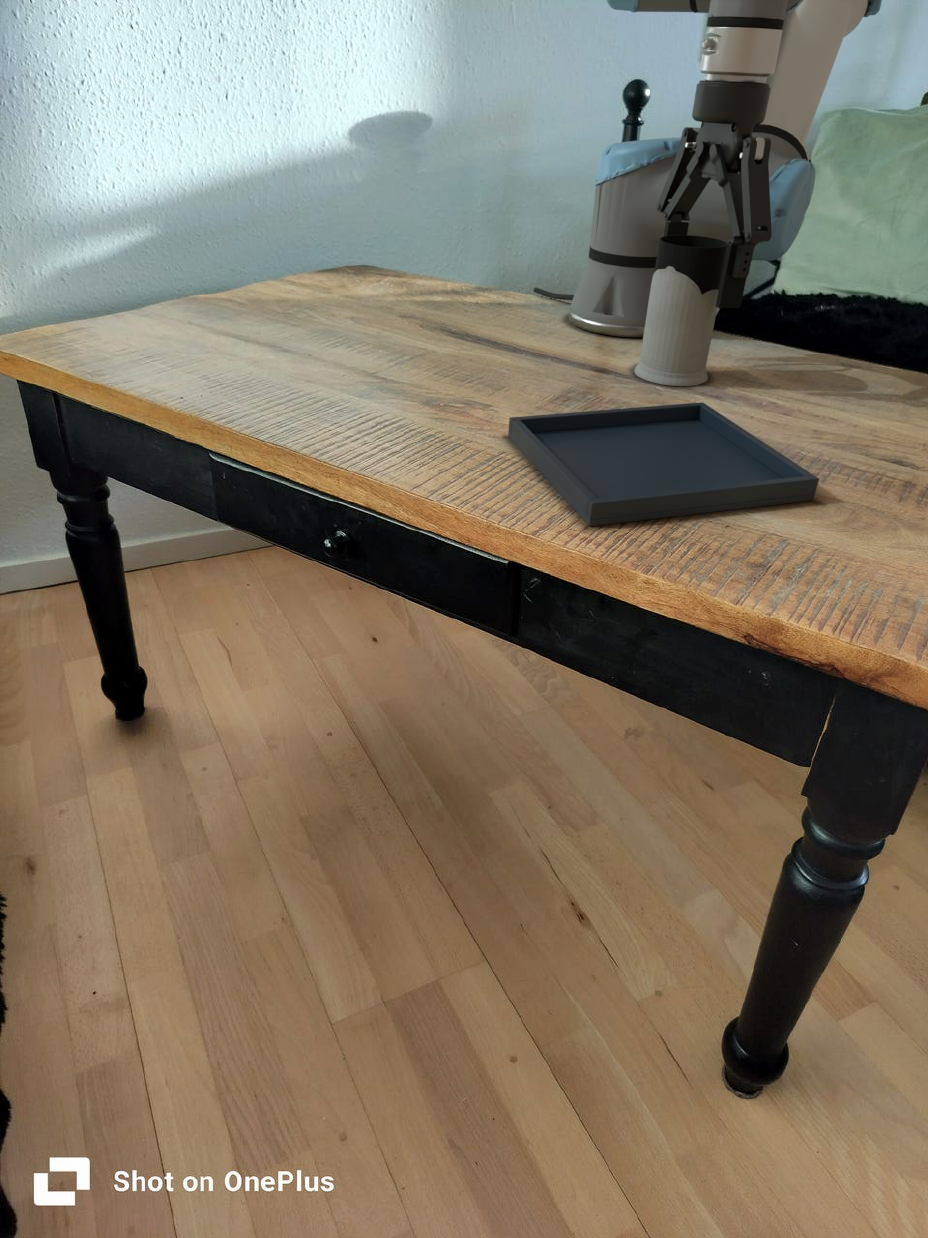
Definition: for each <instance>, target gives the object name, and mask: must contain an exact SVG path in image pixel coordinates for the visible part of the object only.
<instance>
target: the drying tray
mask: <svg viewBox="0 0 928 1238" xmlns="http://www.w3.org/2000/svg"><path fill="white" fill-rule="evenodd" d="M508 420H509V421H508V433H507V438H508V439H509V440H510V441H511V442H512V444H513V445H514V446H515V447H516V448H517V449H518V450H519V451H520V452H521V454H522V455H523V456H524V457H525V458H526V459H527V460H528V461H529V462H530V463H531V464H532V466H533V467H534V468H535V469H536V470H537V471H538V472H539V473H540V474H541V476H542V477H544V478H545V479H546V481H547V483H549V484H550V485H551V486H552V487H553V489H554V490H556V492H557V493H558V494H559V495H560V496H561V498H563V499H564V500H565V502H566V503H567V504H568V505H569V507H570V508H572V509H573V511H575V513H576V514H577V515H578V516H579V517H580V518H581V519H582V520H583V521H584V523H586V525H587V526H588V527H598V526H606V525H614V524H622V523H623V524H624V523H631V522H641V521H649V520H656V519H657V520H659V519H666V518H673V517H682V516H690V515H691V516H692V515H700V514H708V513H716V512H726V511H734V510H743V509H751V508H760V507H767V506H776V505H784V504H793V503H794V504H795V503H800V502H802V503H803V502H810V501H814V498H815V496H816V492H817V488H818V485H819V481H820V478H819V477H817V476H816V475H815V474H813V473H811V472H810V471H808V470H807V469H805V468H804V467H802V466H801V465H799V464H798V463H796V462H795V461H793V460H792V459H790V458H788V457H787V456H785V455H784V454H782V453H781V452H779V451H777V449H775V448H774V447H772V446H770V445H769V444H767V443H766V442H764V441H763V440H761V439H759V438H758V437H756V436H755V435H753V434H752V433H750V432H749V431H748V430H746V429H745V428H744V427H741V426H740V425H738V424H737V423H735V422H733V421H732V420H731V419H729V418H728V417H726V416H724V415H723V414H721V413H720V412H718V411H717V410H715V409H714V408H712V406H711V407H710V406H709V405H708V404H706V403H704V402H701V401H700V402H690V403H688V402H687V403H678V404H677V403H676V404H666V405H665V404H664V405H663V404H662V405H650V406H637V407H625V408H613V409H601V410H589V411H587V410H586V411H574V412H563V413H561V412H560V413H550V414H549V413H547V414H538V415H537V414H536V415H525V416H524V415H523V416H510V417H509V419H508Z"/></svg>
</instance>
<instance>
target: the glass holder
mask: <svg viewBox="0 0 928 1238" xmlns="http://www.w3.org/2000/svg"><path fill="white" fill-rule="evenodd" d="M727 244H728V243H726V242H724V241H722V240H719V239H714V238H709V237H702V236H692V235H670V236H664V237H661V238H660V240H659V247H658V253H657V260H656V266H655V273H654V275H653V277H652V283H651V289H650V296H649V303H648V309H647V316H646V322H645V329H644V336H643V337H642V343H641V350H640V356H639V360H638V363H637V364H636V366H635V367H634V374H635V376H638V377H639V378H640V379H642V380H644V381H647V382H650V383H654V384H657V385H662V386H663V385H664V386H672V387H693V386H698V385H701V384H704V383H706V382H707V381H708V377H709V376H708V371H707V363H708V358H709V352H710V349H711V342H712V338H713V332H714V327H715V322H716V317H717V315H718V313H719V311H720V310H721V308H717V307H715V306H716V301H717V296H718V291H719V286H720V281H721V275H722V270H723V265H724V260H725V255H726V249H727Z"/></svg>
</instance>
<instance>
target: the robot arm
mask: <svg viewBox="0 0 928 1238" xmlns="http://www.w3.org/2000/svg"><path fill="white" fill-rule="evenodd" d="M882 1H883V0H606V3H607V4H608V6H609V7H610V8H611V9H612V10H615V11H624V12H625V11H628V12H631V13H694V14H696V13H697V14H708V16H707V22H706V30H705V35H704V39H703V41H702V44H701V47H702V53H701V60H700V65H699V71H700V73H701V74H704V80H701V79H700V80H699V81H698V83H696V88H695V94H694V101H693V106H692V112H691V117H692V119H693V120H694V122H695V121H696V122H698V123H699V122H700V124H701V125H700V126H699V127H694V126H693V127H691V126H690V127H689V126H687V127H686V126H685V127H684V128H683V129H682V132H681V137H663V138H661V137H660V138H652V139H651V138H649V139H638V140H630V141H622V142H621V141H620V142H616V143H612V144H609V145H608V146H606V147H605V148H604V149H603V151H602V152H601V154H600V157H599V164H598V165H599V166H598V170H597V171H598V172H597V177H596V180H595V182H594V186H595V190H594V201H593V209H592V218H591V230H590V239H589V249H588V256H587V264H586V266H585V268H584V271H583V274H582V276H581V278H580V281H579V283H578V286H577V288H576V290H575V293H574V294H567V293H566V294H565V293H555V292H551V291H548V290H545V289H541V288H539V287H534V288H533V292H534V293H536V294H539V295H541V296H543V297H546V298H550V299H552V300H553V299H554V300H560V301H561V300H564V301H571V303H570V307H569V313H568V314H569V315H568V320H569V322H570V323H571V324H573V325H574V326H575V327H578V328H579V329H582V330H584V331H588V332H591V333H595V334H600V335H608V336H612V337H613V336H614V337H624V338H643V336H644V329H645V322H646V316H647V309H648V303H649V296H650V289H651V283H652V277H653V275H654V273H655V266H656V260H657V253H658V247H659V240H660V238H661V237H664V236H670V235H692V236H702V237H709V238H714V239H719V240H722V241H724V242H726V243H728V244H727V249H726V255H725V260H724V265H723V270H722V275H721V281H720V286H719V291H718V296H717V301H716V306H715V307H717V308H720V309H735V308H736V309H738V308H739V309H740V308H741V307H742V303H743V302H742V301H743V296H744V293H745V287H746V282H747V278H748V276H749V274H750V270H751V265H752V264H751V263H752V261H760V262H761V261H763V262H772V261H776V260H779V259H780V258H782V257H783V256H784V255H785V254H786V253H787V252H788V251H789V250H790V248H791V247H792V246H793V243H794V242H795V240H796V238H797V236H798V234H799V233H800V230H801V228H802V226H803V223H804V221H805V217H806V213H807V211H808V209H809V206H810V204H811V201H812V197H813V192H814V189H815V182H816V167H815V165H814V164H813V163H812V162H811V161H809V154H808V151H807V148H806V146H805V143H806V140H807V138H808V134H809V132H810V129H811V127H812V124H813V121H814V118H815V117H816V113H817V111H818V108H819V105H820V103H821V100H822V97H823V94H824V92H825V90H826V86H827V83H828V81H829V79H830V77H831V76H830V75H831V73H832V70H833V67H834V65H835V62H836V60H837V57H838V54H839V51H840V48H841V47H842V43H843V41H844V38H846V37H847V36H848V35H850V34H851V33H852V32H853V31H854V30H855V29H856V28H858V26H859V25H860V23H861V22H862V21H863V18H868V17H871V16H875V15H877V14H878V13H879V12H880V10H881V7H882Z"/></svg>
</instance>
